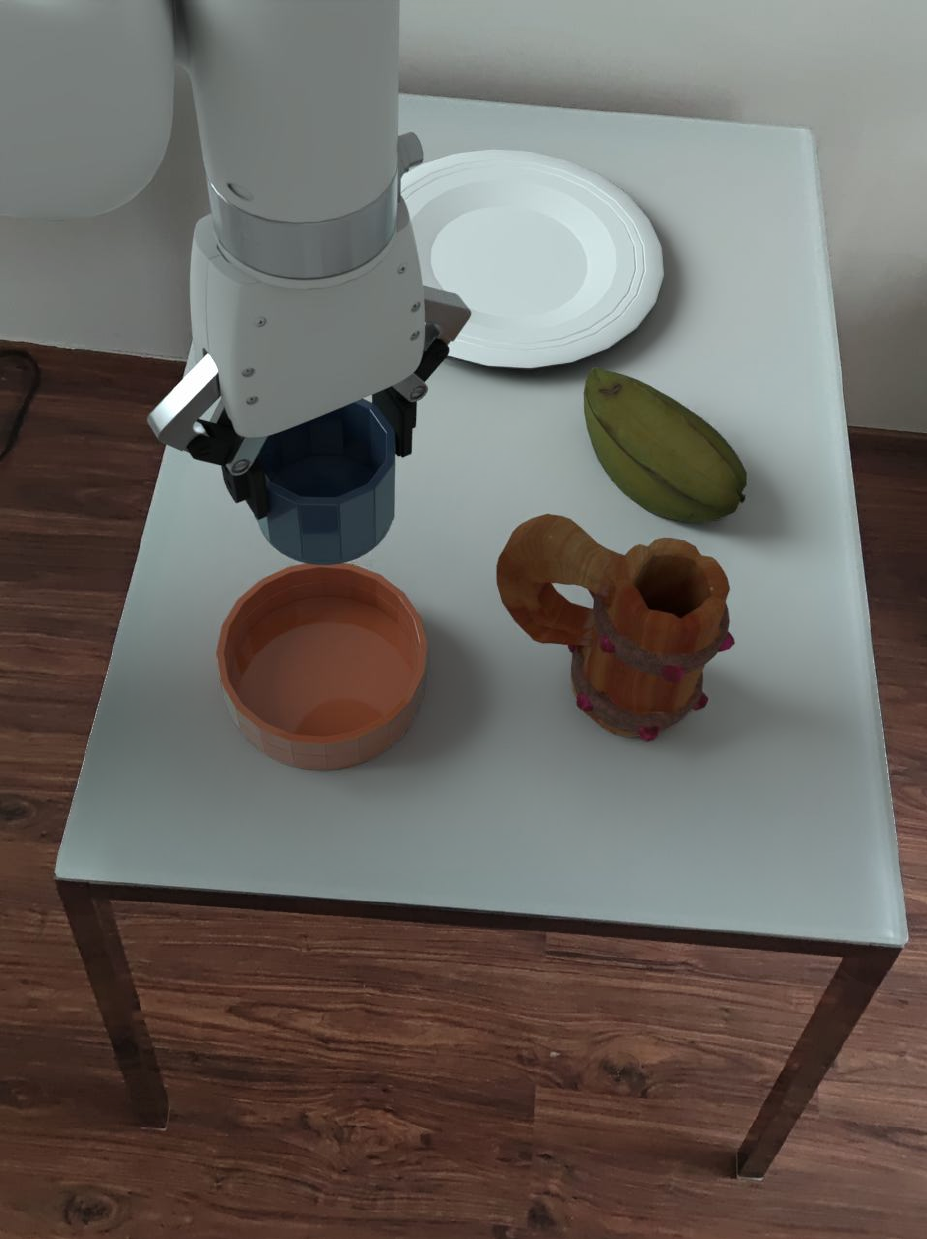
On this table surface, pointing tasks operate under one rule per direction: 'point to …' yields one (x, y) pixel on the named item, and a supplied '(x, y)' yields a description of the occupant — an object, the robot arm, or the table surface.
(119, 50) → the robot arm
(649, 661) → the mug
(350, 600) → the big bowl
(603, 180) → the plate
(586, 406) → the fruit
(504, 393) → the table surface
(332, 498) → the small bowl
